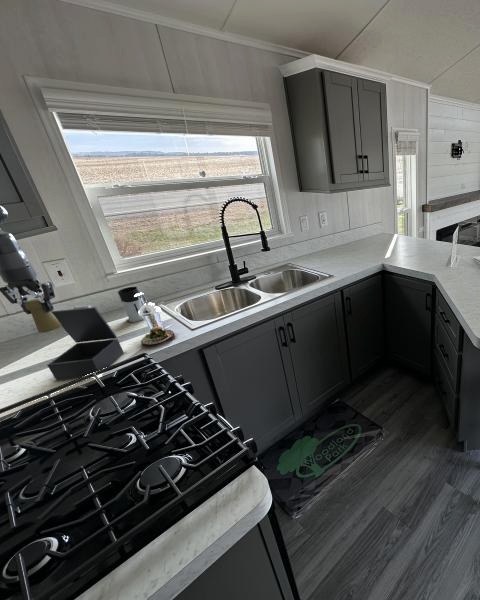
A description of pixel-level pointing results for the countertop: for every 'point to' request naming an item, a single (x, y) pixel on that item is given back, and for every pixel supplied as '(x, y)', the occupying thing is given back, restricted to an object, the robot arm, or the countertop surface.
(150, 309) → the cup with straw
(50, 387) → the countertop surface
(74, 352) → the black hinged lid box
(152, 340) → the bowl of salad
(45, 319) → the cork
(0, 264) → the robot arm
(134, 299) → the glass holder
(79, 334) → the hatch
